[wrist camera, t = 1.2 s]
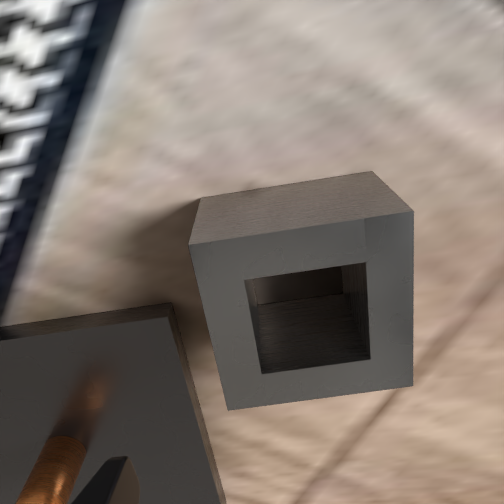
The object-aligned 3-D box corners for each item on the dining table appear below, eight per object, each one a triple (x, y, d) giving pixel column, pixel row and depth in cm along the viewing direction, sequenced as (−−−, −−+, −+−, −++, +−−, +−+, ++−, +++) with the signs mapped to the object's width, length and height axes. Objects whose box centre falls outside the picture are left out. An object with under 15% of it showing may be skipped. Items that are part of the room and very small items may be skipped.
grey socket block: (226, 501, 22) (221, 649, 17) (-1, 529, 23) (-77, 680, 17) (171, 302, 17) (138, 422, 12) (-119, 344, 18) (-280, 477, 12)
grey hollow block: (378, 316, 18) (413, 386, 14) (230, 336, 18) (227, 410, 14) (372, 171, 15) (413, 210, 11) (200, 197, 15) (188, 244, 12)
